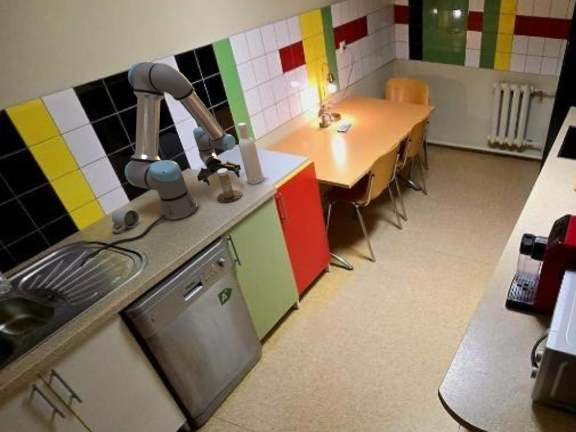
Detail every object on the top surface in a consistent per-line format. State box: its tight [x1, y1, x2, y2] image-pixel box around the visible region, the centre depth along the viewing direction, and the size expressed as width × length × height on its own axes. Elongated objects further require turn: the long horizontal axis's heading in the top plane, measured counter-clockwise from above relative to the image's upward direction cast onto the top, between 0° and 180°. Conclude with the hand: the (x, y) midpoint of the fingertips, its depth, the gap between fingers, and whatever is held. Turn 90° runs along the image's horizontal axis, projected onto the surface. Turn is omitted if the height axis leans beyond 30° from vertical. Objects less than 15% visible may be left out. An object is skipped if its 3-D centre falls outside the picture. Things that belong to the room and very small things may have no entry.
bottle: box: [237, 122, 264, 185], centre depth 204 cm, size 8×8×30 cm
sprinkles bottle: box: [216, 168, 234, 198], centre depth 195 cm, size 5×5×14 cm
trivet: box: [217, 189, 243, 204], centre depth 199 cm, size 11×11×1 cm
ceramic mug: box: [111, 208, 140, 234], centre depth 179 cm, size 11×8×8 cm
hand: (223, 178), depth 195 cm, fingers open, 13 cm apart
